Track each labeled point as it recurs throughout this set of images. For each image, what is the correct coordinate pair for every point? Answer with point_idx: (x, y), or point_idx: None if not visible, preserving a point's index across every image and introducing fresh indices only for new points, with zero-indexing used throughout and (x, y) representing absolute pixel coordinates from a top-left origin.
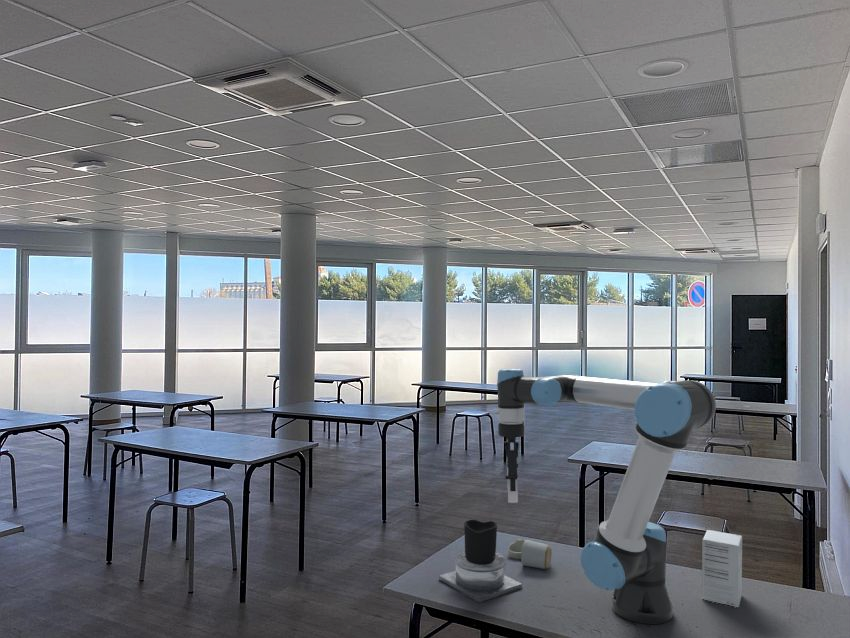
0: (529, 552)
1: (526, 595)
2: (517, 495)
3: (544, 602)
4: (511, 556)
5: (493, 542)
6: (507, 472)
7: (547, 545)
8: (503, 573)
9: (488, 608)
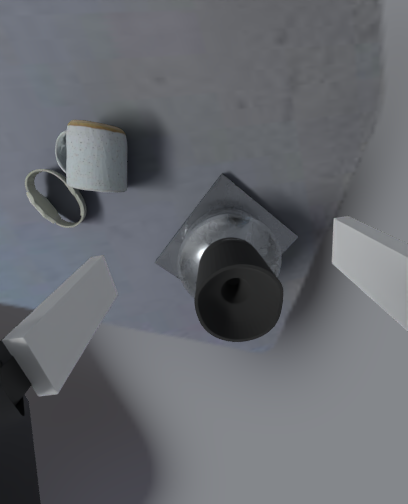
0: (119, 173)
1: (251, 160)
2: (370, 228)
3: (273, 121)
4: (85, 215)
5: (253, 253)
6: (72, 365)
7: (81, 127)
8: (234, 212)
9: (313, 217)
